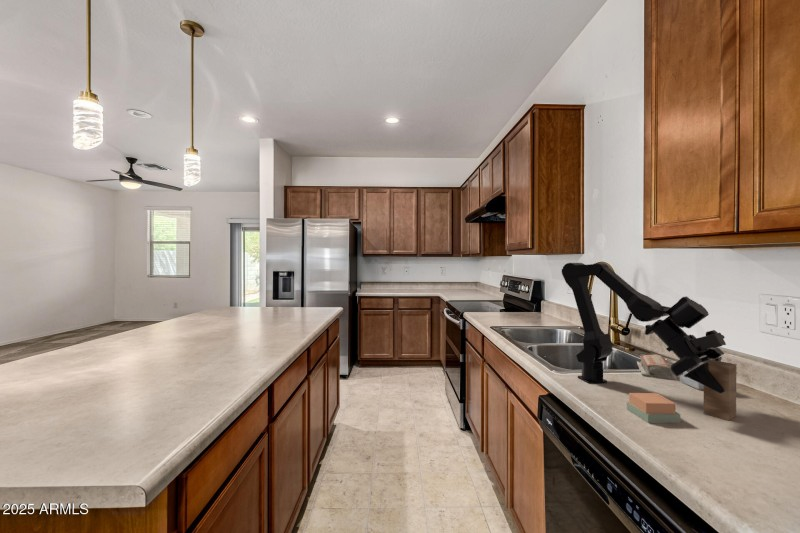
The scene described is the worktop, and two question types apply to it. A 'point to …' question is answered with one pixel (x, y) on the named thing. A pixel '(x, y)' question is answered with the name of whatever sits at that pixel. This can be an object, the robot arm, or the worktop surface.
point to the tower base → (653, 415)
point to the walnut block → (726, 401)
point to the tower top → (652, 403)
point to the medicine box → (691, 382)
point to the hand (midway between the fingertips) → (726, 390)
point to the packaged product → (655, 367)
